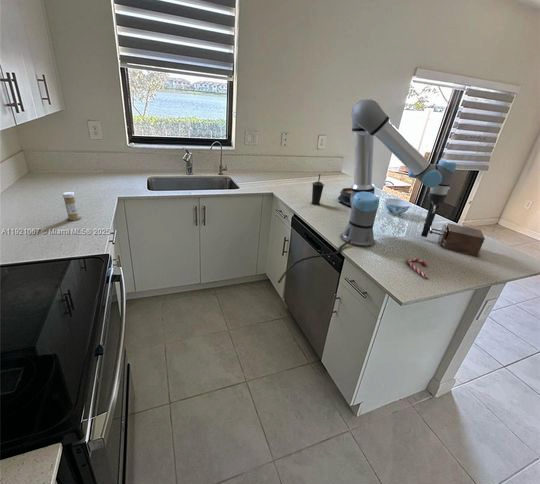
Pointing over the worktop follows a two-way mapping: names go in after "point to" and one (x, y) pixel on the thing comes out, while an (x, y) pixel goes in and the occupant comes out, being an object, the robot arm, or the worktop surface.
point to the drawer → (441, 234)
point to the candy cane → (415, 267)
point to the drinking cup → (317, 192)
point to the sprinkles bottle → (70, 205)
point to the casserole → (345, 196)
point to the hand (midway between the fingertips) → (423, 236)
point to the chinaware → (396, 206)
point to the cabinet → (464, 239)
